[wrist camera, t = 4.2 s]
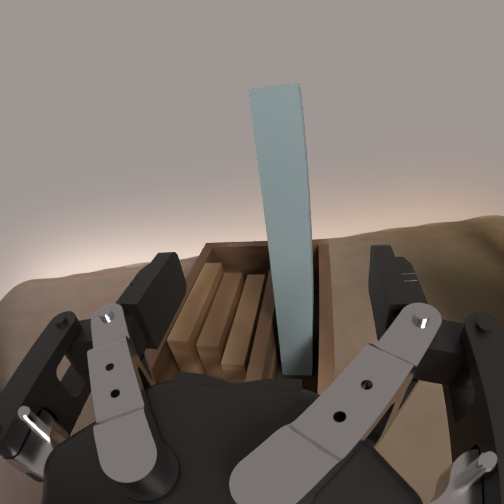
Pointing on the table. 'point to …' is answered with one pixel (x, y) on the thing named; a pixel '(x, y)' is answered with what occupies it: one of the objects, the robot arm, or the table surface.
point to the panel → (287, 218)
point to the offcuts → (218, 324)
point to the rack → (266, 338)
